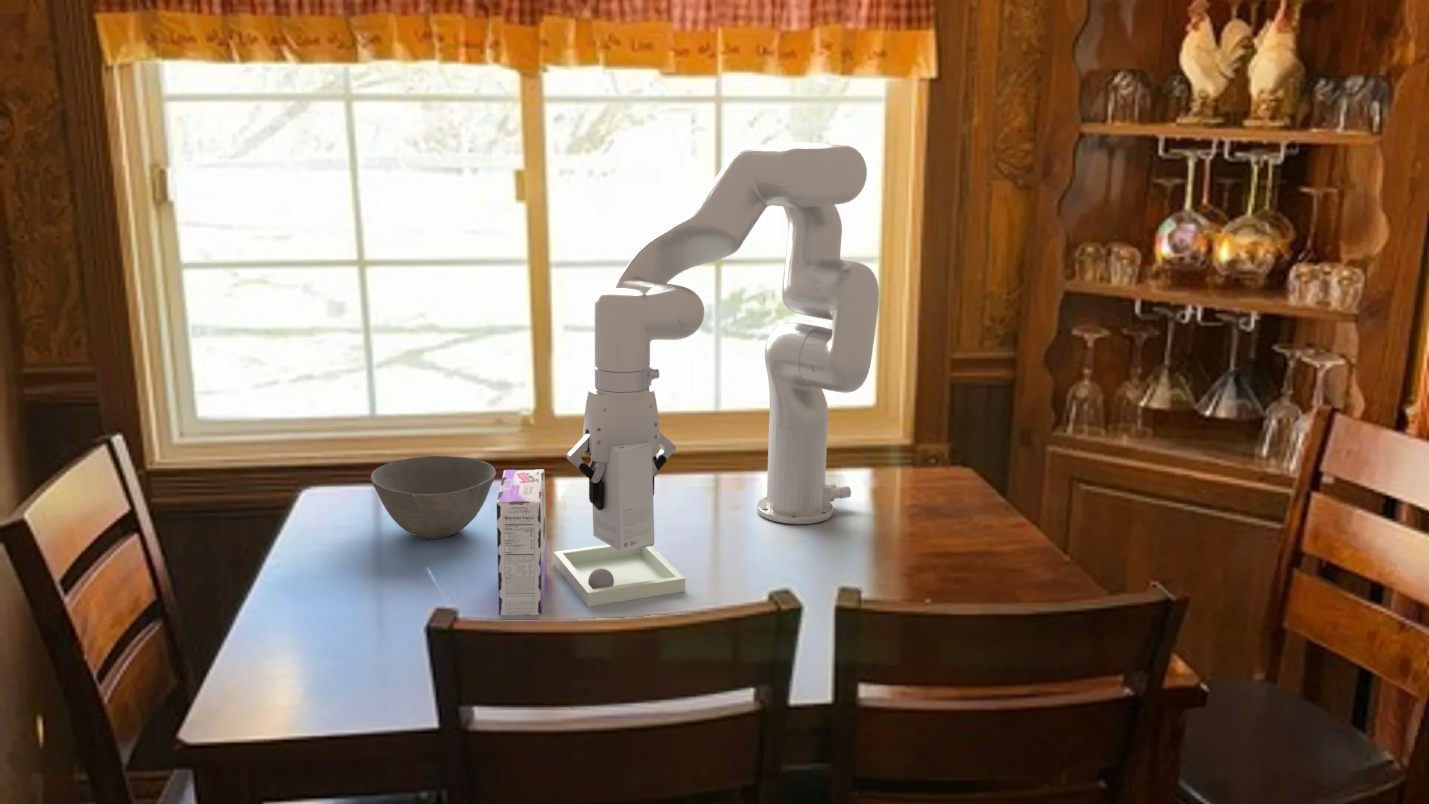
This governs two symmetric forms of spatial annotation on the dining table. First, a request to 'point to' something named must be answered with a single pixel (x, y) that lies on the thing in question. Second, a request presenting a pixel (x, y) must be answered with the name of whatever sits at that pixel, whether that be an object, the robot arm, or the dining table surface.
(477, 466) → the bowl
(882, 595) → the dining table surface
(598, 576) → the ball
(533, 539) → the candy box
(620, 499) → the skincare box
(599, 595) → the tray
